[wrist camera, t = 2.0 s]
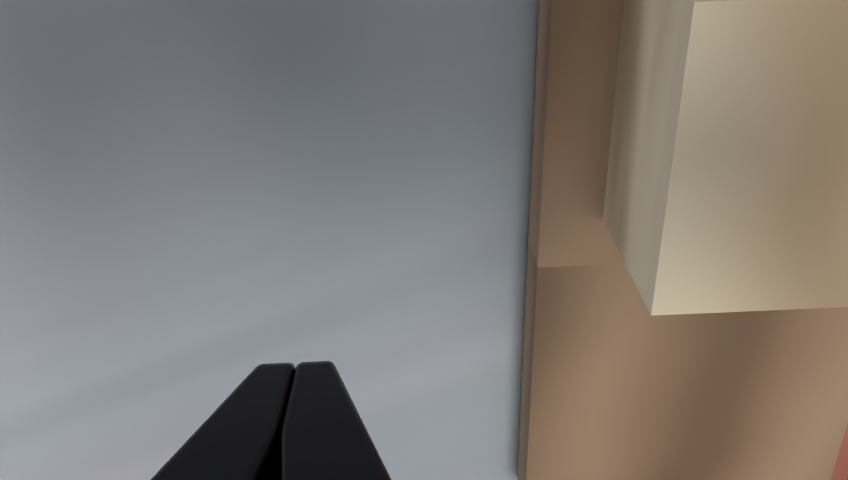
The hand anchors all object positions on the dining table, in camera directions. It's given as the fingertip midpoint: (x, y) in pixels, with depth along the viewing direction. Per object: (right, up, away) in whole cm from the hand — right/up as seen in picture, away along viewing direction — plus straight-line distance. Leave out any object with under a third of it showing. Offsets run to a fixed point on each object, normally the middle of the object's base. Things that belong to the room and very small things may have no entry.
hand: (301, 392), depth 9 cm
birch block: (+9, +5, +9) cm, 13 cm away
